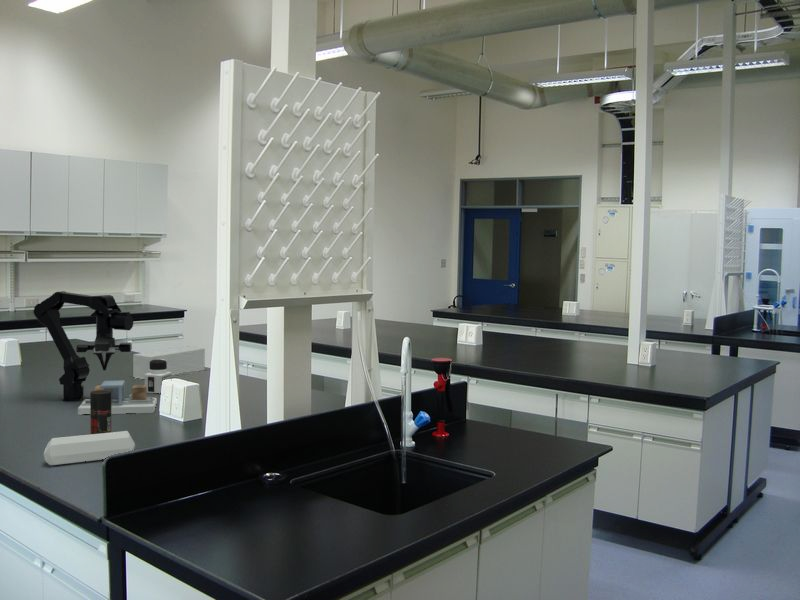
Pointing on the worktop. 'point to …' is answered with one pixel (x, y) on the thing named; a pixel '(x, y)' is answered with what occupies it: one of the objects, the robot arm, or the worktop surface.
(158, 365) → the container
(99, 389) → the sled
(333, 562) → the worktop surface
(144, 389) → the block
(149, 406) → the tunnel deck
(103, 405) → the deodorant
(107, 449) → the crystal
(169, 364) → the long grey rectangular block
